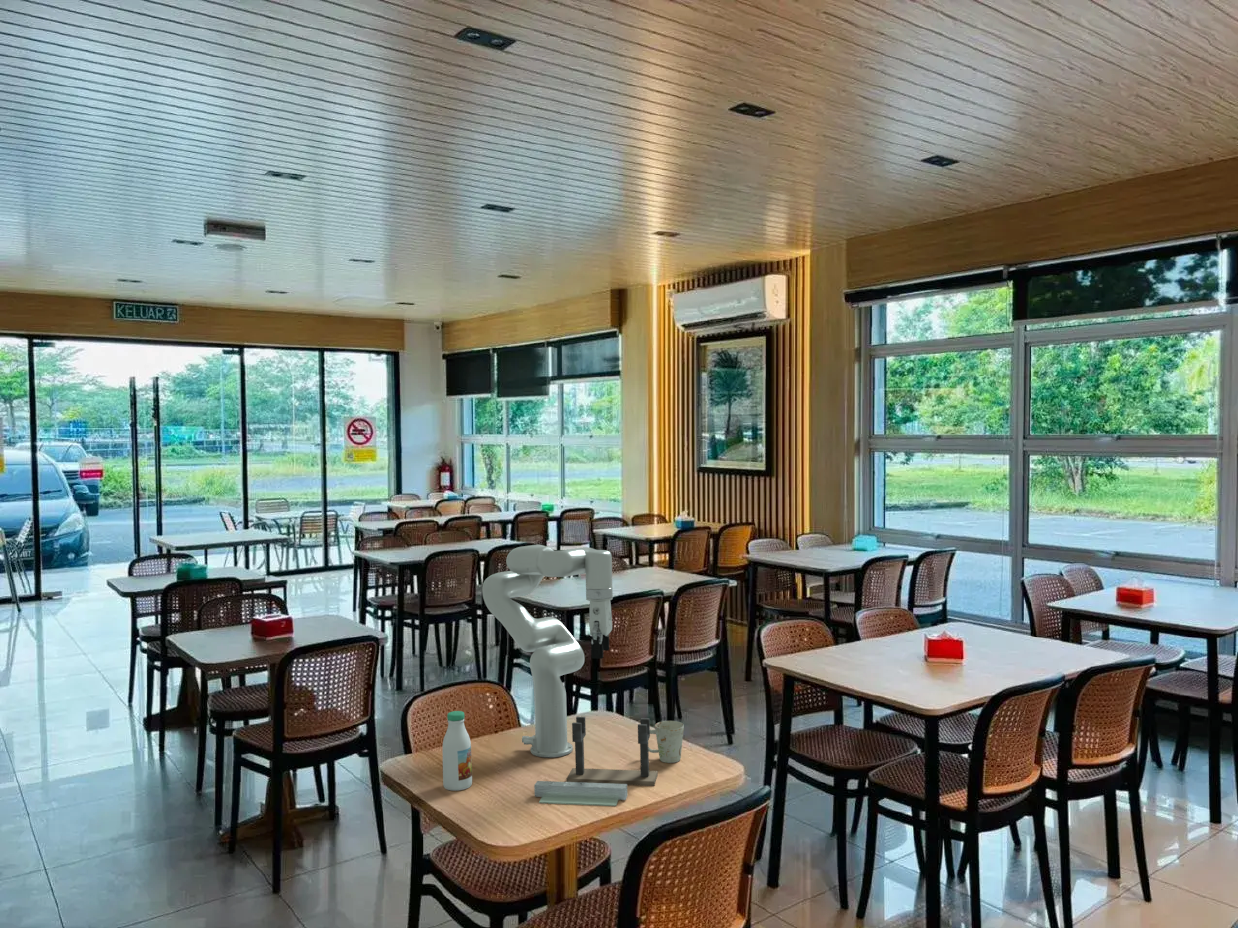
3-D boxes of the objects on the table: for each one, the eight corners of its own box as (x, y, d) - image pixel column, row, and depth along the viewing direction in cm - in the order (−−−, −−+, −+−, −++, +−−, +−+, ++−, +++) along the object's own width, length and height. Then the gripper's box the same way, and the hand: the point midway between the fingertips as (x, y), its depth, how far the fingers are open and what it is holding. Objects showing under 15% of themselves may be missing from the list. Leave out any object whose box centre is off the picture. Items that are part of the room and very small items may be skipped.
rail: (534, 796, 239) (534, 784, 238) (537, 791, 241) (537, 780, 241) (625, 799, 235) (625, 788, 235) (627, 795, 238) (627, 783, 238)
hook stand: (566, 782, 249) (564, 724, 248) (572, 772, 257) (571, 715, 256) (654, 785, 245) (652, 726, 245) (657, 775, 253) (656, 717, 252)
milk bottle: (448, 793, 243) (446, 718, 243) (439, 784, 250) (437, 711, 250) (476, 787, 247) (474, 714, 246) (467, 778, 254) (465, 707, 253)
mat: (539, 803, 235) (539, 801, 235) (547, 789, 244) (547, 788, 244) (616, 805, 232) (615, 804, 232) (621, 792, 241) (621, 791, 241)
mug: (682, 764, 260) (681, 730, 260) (639, 762, 263) (638, 728, 263) (686, 755, 268) (685, 721, 268) (644, 753, 271) (643, 719, 271)
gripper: (606, 599, 250) (608, 661, 250) (617, 589, 267) (618, 647, 267) (580, 599, 251) (581, 661, 252) (592, 589, 268) (593, 647, 269)
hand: (600, 654), depth 259 cm, fingers open, 9 cm apart
